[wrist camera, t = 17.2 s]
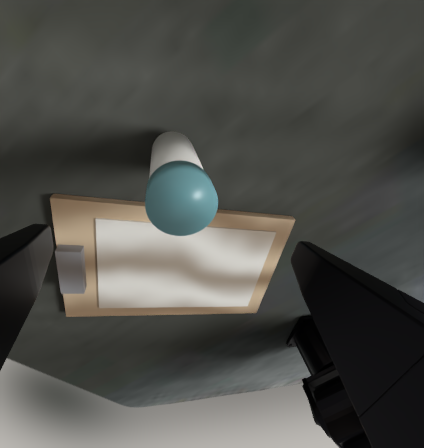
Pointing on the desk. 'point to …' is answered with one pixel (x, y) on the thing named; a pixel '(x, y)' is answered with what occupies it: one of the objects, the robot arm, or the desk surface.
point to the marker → (178, 187)
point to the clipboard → (161, 260)
